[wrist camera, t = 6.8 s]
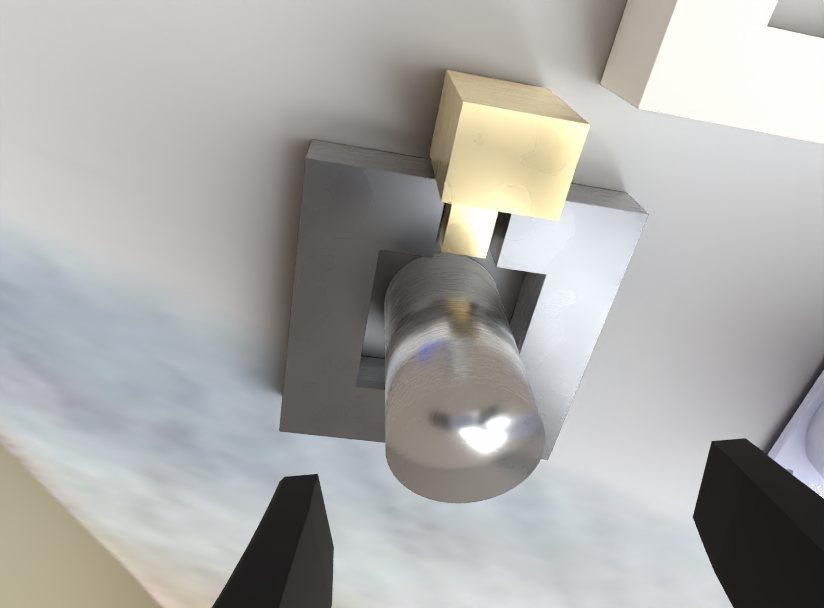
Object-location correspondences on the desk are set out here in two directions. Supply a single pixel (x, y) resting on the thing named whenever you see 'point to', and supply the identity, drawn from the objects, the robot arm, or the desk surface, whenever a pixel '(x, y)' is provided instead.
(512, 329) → the socket block
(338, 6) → the desk surface
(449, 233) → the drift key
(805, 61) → the white square block
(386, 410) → the metal cylinder
